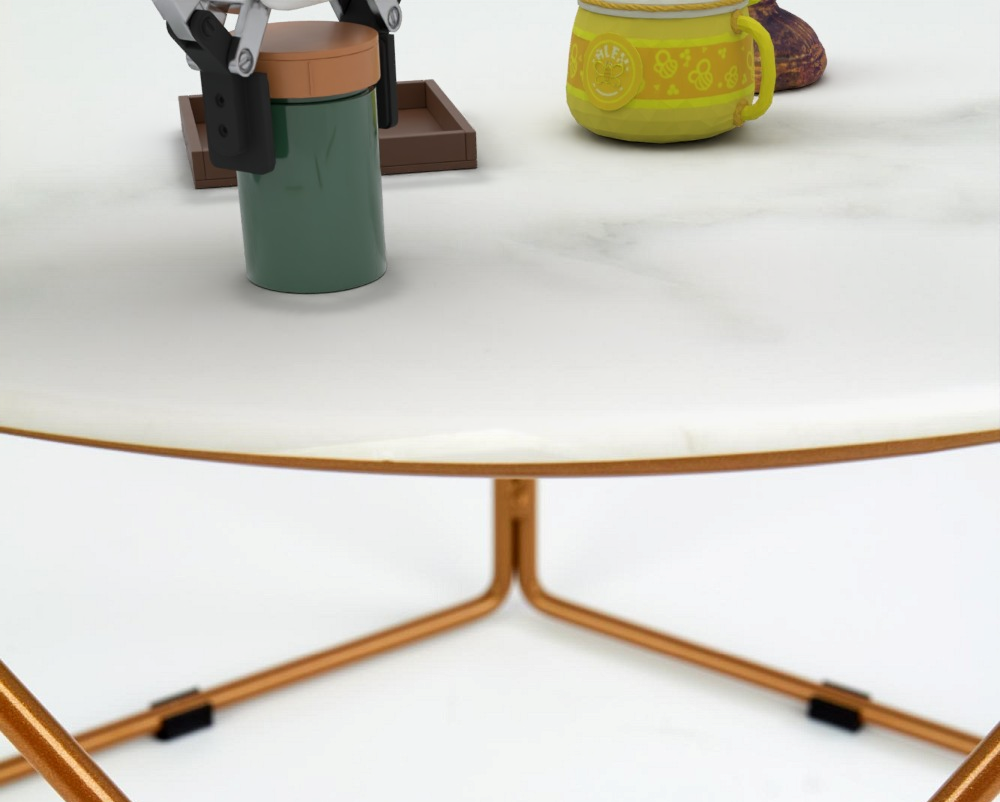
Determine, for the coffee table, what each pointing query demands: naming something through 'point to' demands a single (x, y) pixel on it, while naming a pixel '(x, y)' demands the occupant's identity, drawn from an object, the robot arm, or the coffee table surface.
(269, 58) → the lid
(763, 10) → the dark brown rounded piece
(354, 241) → the jar
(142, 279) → the coffee table surface
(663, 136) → the mug
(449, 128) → the tray
